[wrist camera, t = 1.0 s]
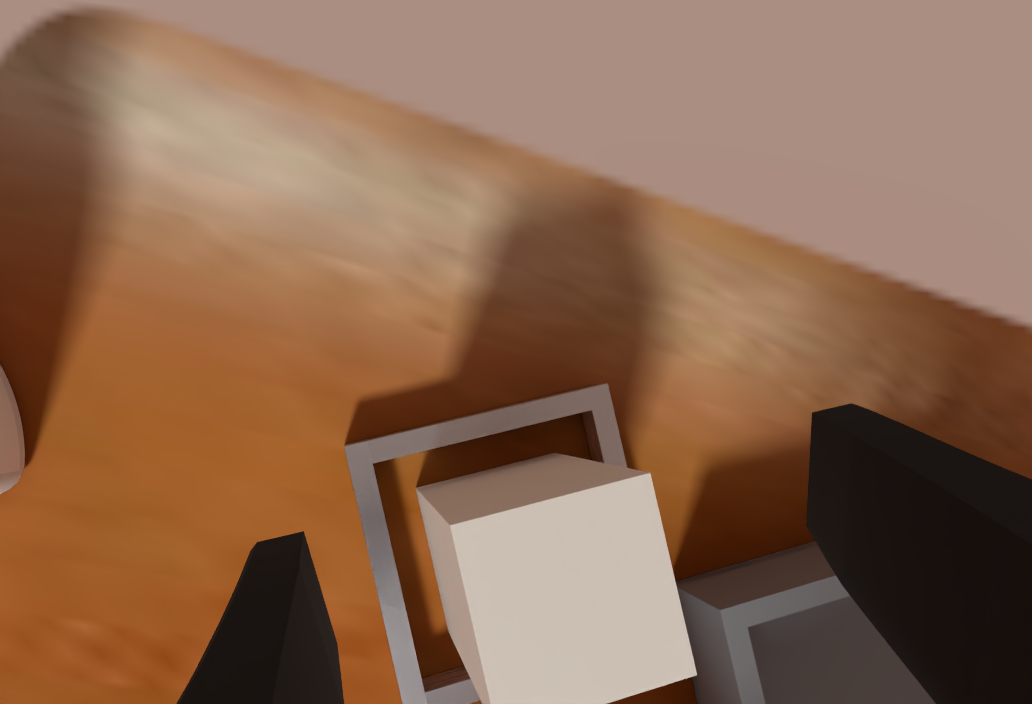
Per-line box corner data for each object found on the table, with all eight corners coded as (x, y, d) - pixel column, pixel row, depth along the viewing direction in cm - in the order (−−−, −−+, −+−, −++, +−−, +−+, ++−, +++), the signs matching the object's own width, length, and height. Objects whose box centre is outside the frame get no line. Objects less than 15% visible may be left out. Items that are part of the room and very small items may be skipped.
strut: (586, 591, 25) (697, 675, 17) (448, 631, 24) (498, 737, 16) (554, 452, 25) (650, 472, 17) (415, 487, 24) (450, 525, 17)
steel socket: (653, 632, 25) (668, 643, 24) (403, 707, 24) (407, 722, 23) (595, 384, 26) (607, 383, 24) (344, 444, 24) (344, 446, 23)
